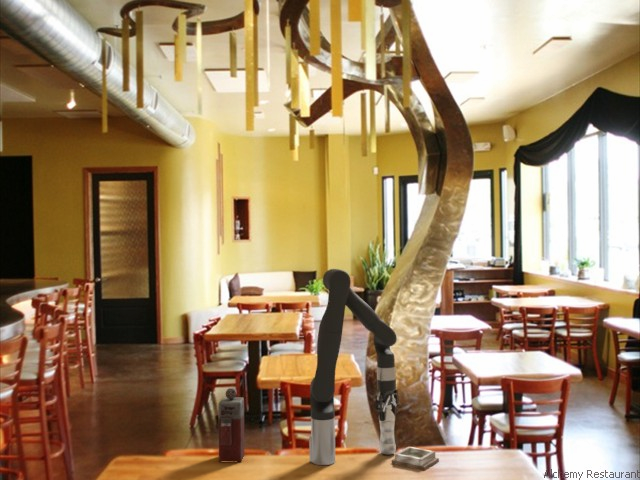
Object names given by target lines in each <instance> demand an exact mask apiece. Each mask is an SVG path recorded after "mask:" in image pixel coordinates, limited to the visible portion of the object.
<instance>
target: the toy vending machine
mask: <svg viewBox="0 0 640 480" xmlns="http://www.w3.org/2000/svg"><path fill="white" fill-rule="evenodd" d="M237 394H238V392H237V388H234V387H228V388H227V389H226V391H225V396H226V397H222V398H221V399H220V400H219V402H218V403H217V405H218V406H217V407H218V409H217V410H218V462H219V461H242V462H243V460H244V458H243V457H245V399H244V397H243V396H242V397H241V396H240V397H239V396H238V397H237ZM242 459H243V460H242Z"/></svg>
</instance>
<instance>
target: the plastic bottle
mask: <svg viewBox="0 0 640 480" xmlns="http://www.w3.org/2000/svg"><path fill="white" fill-rule="evenodd" d="M382 408H383V406H382ZM391 409H392V407H391V404H390V403H389V404H388V405H387V407H386V408H385V411H384V412H385V421H380V420H379V419H378V421H379V429H380V431H379V432H380V437H379V438H380V440H379V441H380V442H379V446H378V447H379V452H380V453H381V454H382V455H390V456H391V455H395V454H396V450H397V445H396V441H395V440H396V439H395V421H396V415H395V416H394V414H393V412H392V411H391Z"/></svg>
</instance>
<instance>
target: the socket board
mask: <svg viewBox="0 0 640 480" xmlns="http://www.w3.org/2000/svg"><path fill="white" fill-rule="evenodd" d="M438 462H440V458H438V457H436V450H435V451H434V450H430V449H424V448H418V447H414V446H407V447H405V448H404V449H402V450H400V451H398V452H395V453H394V458H393V459H392V460H391V464H393V465H397V466H402V467H405V468H411V469H416V470H421V471H426V470H428V469H430V468H431V467H433V466H434V465H436V464H437V463H438Z"/></svg>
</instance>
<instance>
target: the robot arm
mask: <svg viewBox="0 0 640 480" xmlns="http://www.w3.org/2000/svg"><path fill="white" fill-rule="evenodd" d="M351 282H352V281H351V277H350V274H349V273H348V272H347V271H346V270H344V269H339V268H330V269H328V270H326V271H325V272H324V274H323V276H322V284H323V286H324V287H325V289H326V290H328V300H327V306H326V308H325V311H324V313H323V315H322V317H321V320H320V323H319V326H318V331H317V342H316V364H317V365H316V368H315V373H314V374H315V375H314V377H313V379H312V380H311V382H310V387H309V389H310V390H309V395H310V396H309V398H310V421H311V422H310V425H311V427H310V431H311V432H310V433H311V435H310V436H309V438H308V439H309V440H308V444H309V445H308V447H309V449H308V450H309V462H311V463H312V464H314V465H317V466H329V465H334V464H335V462H336V424H335V423H336V422H335V421H336V420H335V418H336V417H335V401H334V400H335V397H334V394H335V390H336V384H335V383H336V369H337V367H336V366H337V363H338V358H339V353H340V350H341V349H340V348H341V345H342V343H341V342H342V338H343V330H344V329H343V328H344V320H345V313H346V312H345V311H346V307H347V308H348V310H350V311H351V313H352V314H353V315H354V317H355V318H356V319H357V320H358V321H359V323H360V324H362V326H363V327H364V328H365V329H366V330H367V331H369V332H370V333H372V334H373V345H374V349H375V353H376V362H377V363H376V364H377V365H376V366H377V367H376V387H377V390H378V391H379V394H378V395H376V394H375V399H374V400H375V402H374V403H375V405H374V407H375V409H374V410H375V411H377V412H378V414H379V415H378V421H379V420H380V421H385V412H384V411H385V408H386V407H387V405H388V404H389V403H390V404H391V407H392V409H391V411H392V412H393V414H394V416H395V417H396V415H397V414H396V411H397V410H396V407H397V405H399V403H400V402H399V401H400V400H399V389H397V380H396V379H397V377H396V376H397V375H396V368H395V367H396V366H395V365H396V364H395V363H396V362H395V354H394V352H392V350H391V347H393V346H394V345H396V343H397V339H398V338H397V334H396V332H395V330H394V329H393V328H392V327H391V326H389V324H387V323H386V322H385V321H384V320H382V319H381V317H380V316H379V315H378V314H377V312H376V311H374V309H373V308H372V307H371V306H370V305H369V304H368V303H367V302H365V301H364V299H362V298H361V297H360V296H359V295H358V294H357V293H356V292H355V291H354V290H353V289H352V288H351ZM382 406H383V408H382Z"/></svg>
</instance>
